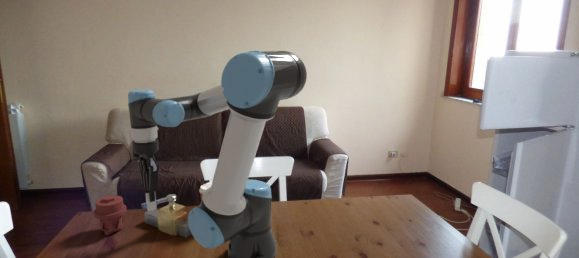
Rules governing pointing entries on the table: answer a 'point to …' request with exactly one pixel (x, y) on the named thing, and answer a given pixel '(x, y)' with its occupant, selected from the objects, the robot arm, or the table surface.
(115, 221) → the mechanical component
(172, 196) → the lever
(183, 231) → the pipe
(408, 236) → the table surface
